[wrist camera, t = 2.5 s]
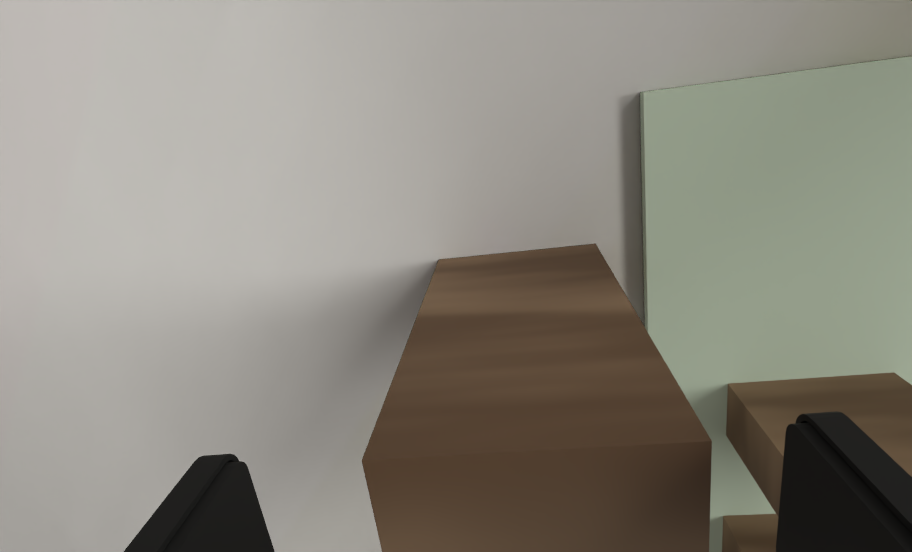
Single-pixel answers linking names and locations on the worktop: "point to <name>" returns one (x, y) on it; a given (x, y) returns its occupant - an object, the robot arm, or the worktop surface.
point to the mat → (777, 239)
